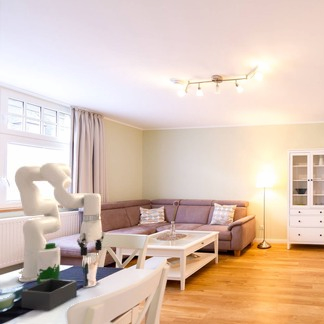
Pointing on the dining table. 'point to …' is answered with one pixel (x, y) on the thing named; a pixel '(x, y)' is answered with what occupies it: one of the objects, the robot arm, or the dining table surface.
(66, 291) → the bin
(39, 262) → the milk carton
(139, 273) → the dining table surface
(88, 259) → the beer glass
